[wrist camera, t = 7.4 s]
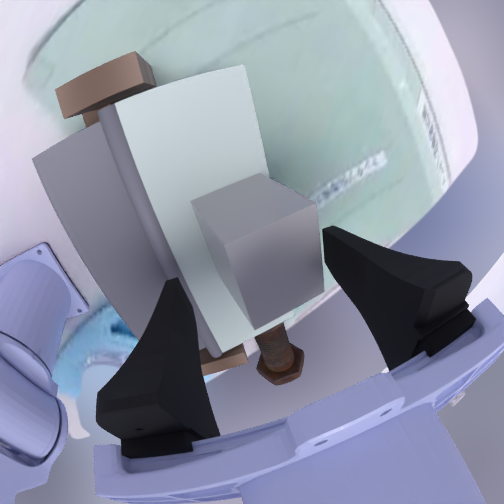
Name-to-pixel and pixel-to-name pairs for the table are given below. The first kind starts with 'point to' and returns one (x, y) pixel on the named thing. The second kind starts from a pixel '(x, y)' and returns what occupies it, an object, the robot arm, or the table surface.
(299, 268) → the grey cube
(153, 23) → the table surface
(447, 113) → the table surface
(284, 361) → the bolt
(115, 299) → the trapdoor
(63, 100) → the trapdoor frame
